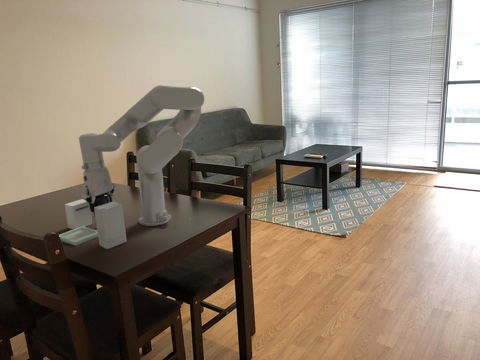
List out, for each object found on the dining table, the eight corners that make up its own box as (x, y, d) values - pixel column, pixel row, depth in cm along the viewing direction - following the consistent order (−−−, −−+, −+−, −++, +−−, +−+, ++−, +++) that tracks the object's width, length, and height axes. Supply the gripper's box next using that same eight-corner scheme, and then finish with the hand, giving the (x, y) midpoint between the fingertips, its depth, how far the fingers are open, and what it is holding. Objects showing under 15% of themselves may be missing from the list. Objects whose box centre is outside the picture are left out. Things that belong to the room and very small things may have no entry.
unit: (93, 223, 167) (90, 200, 165) (76, 230, 161) (72, 206, 158) (84, 221, 170) (81, 198, 168) (67, 227, 164) (64, 204, 161)
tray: (102, 235, 155) (101, 231, 155) (75, 245, 146) (75, 242, 145) (83, 229, 161) (82, 226, 161) (56, 239, 152) (56, 236, 151)
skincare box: (118, 238, 151) (114, 200, 147) (127, 242, 147) (123, 203, 143) (98, 245, 145) (93, 206, 141) (106, 250, 141) (101, 209, 137)
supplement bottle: (91, 219, 160) (85, 190, 157) (100, 213, 166) (95, 185, 163) (106, 219, 158) (101, 190, 155) (115, 213, 165) (110, 185, 161)
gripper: (81, 171, 148) (89, 217, 152) (118, 161, 162) (125, 203, 166) (68, 170, 152) (77, 215, 157) (106, 160, 166) (113, 201, 170)
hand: (102, 208), depth 161 cm, fingers closed on supplement bottle, 6 cm apart
